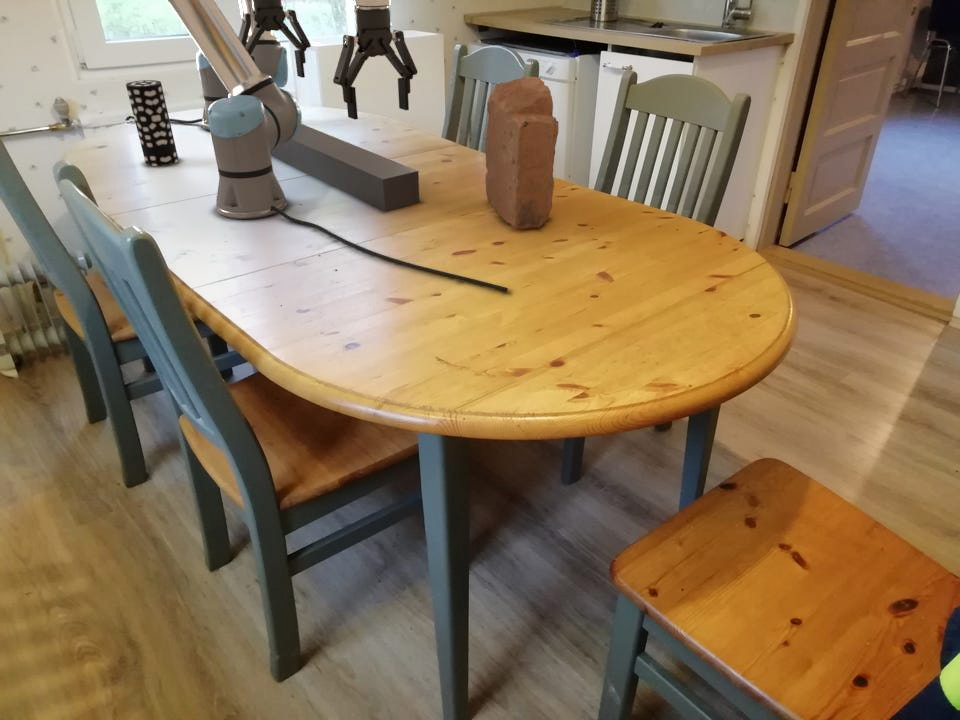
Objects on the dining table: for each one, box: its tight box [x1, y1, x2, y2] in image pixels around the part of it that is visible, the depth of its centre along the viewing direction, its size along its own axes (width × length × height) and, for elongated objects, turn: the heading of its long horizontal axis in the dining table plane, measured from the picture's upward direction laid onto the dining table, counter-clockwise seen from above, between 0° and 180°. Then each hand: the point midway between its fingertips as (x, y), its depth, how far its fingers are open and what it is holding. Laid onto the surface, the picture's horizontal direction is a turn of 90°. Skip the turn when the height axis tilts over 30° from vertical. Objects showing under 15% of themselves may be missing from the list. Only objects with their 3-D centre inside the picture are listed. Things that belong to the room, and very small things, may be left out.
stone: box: [484, 76, 560, 230], centre depth 149 cm, size 22×11×28 cm, turn 18°
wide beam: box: [270, 123, 420, 212], centre depth 178 cm, size 63×10×8 cm, turn 41°
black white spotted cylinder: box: [125, 79, 179, 167], centre depth 181 cm, size 8×8×20 cm
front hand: (379, 113), depth 154 cm, fingers open, 13 cm apart
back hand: (278, 79), depth 184 cm, fingers open, 13 cm apart
